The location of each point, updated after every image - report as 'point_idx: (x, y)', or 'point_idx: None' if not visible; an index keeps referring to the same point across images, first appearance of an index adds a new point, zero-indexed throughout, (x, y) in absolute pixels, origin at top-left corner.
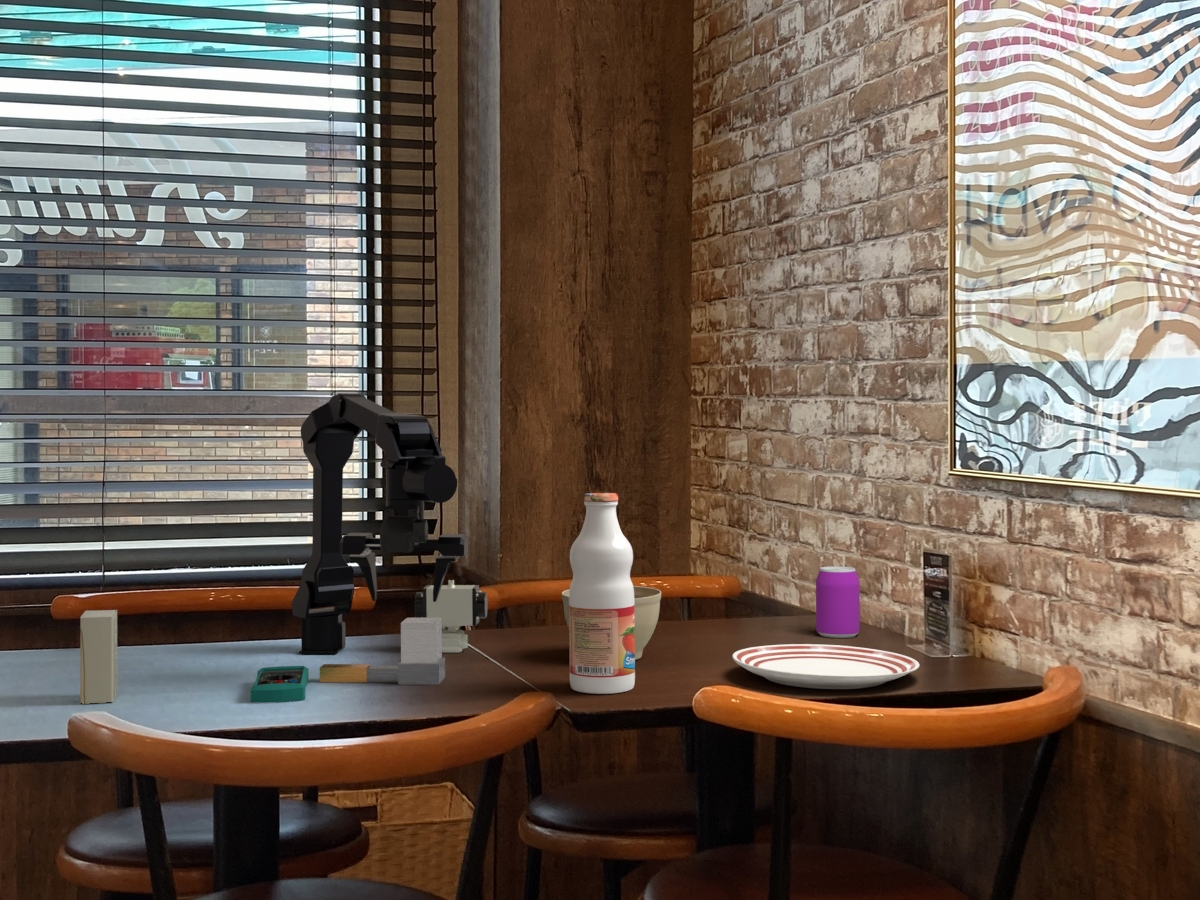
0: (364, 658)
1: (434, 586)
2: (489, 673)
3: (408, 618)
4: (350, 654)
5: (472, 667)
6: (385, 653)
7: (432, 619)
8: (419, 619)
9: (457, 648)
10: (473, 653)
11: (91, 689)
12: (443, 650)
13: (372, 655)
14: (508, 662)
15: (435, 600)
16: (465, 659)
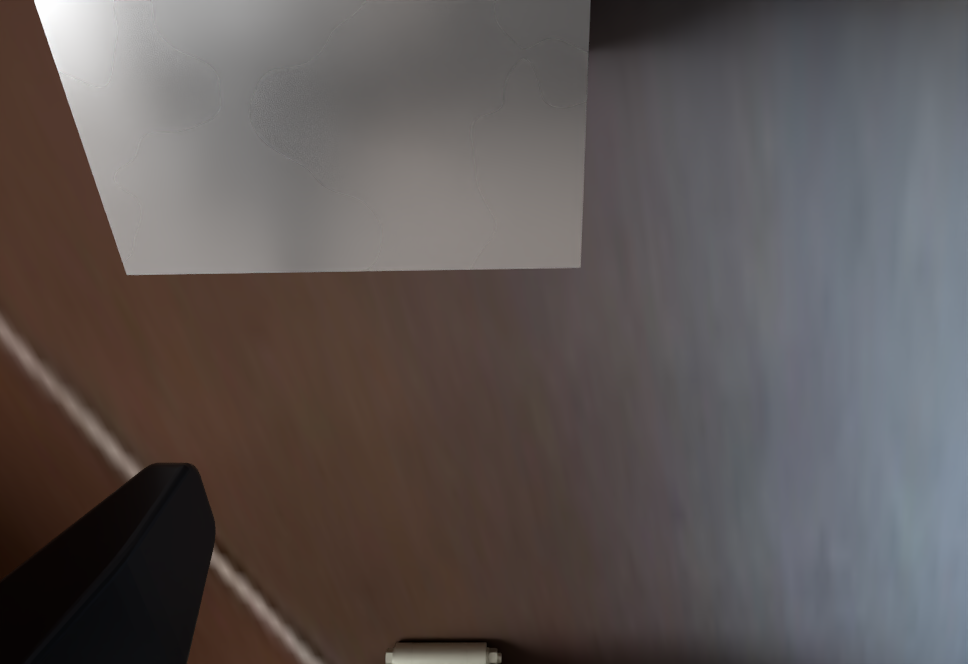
0: (866, 551)
1: (26, 650)
2: (17, 178)
3: (550, 204)
4: (936, 624)
5: (207, 350)
6: (759, 639)
7: (175, 114)
8: (367, 113)
9: (404, 658)
10: (330, 635)
11: None
12: (473, 649)
13: (823, 606)
14: (65, 467)
15: (148, 472)
16: (324, 529)
